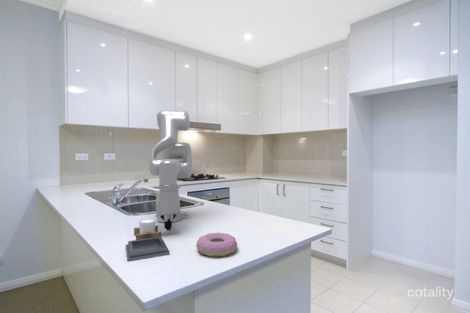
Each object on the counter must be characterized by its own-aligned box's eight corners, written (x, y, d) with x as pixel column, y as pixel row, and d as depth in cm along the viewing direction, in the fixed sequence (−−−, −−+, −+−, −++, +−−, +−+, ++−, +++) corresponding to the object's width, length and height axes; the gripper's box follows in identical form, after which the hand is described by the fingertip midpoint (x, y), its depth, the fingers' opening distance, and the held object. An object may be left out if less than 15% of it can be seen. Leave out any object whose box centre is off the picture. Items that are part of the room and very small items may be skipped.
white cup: (146, 240, 108) (146, 224, 108) (135, 237, 112) (135, 221, 111) (159, 236, 114) (159, 220, 114) (148, 233, 117) (148, 217, 117)
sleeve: (157, 231, 120) (157, 225, 120) (161, 239, 110) (161, 232, 110) (134, 234, 116) (134, 227, 116) (136, 242, 106) (136, 235, 106)
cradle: (162, 241, 107) (162, 235, 107) (169, 254, 94) (169, 247, 94) (125, 247, 101) (125, 240, 101) (127, 261, 88) (127, 254, 88)
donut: (220, 240, 109) (220, 228, 109) (245, 251, 98) (245, 238, 98) (188, 249, 99) (188, 236, 99) (211, 263, 88) (212, 248, 87)
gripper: (182, 186, 122) (182, 225, 123) (149, 188, 116) (149, 229, 117) (186, 188, 116) (186, 229, 116) (151, 190, 109) (151, 234, 110)
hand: (168, 229), depth 116 cm, fingers closed
